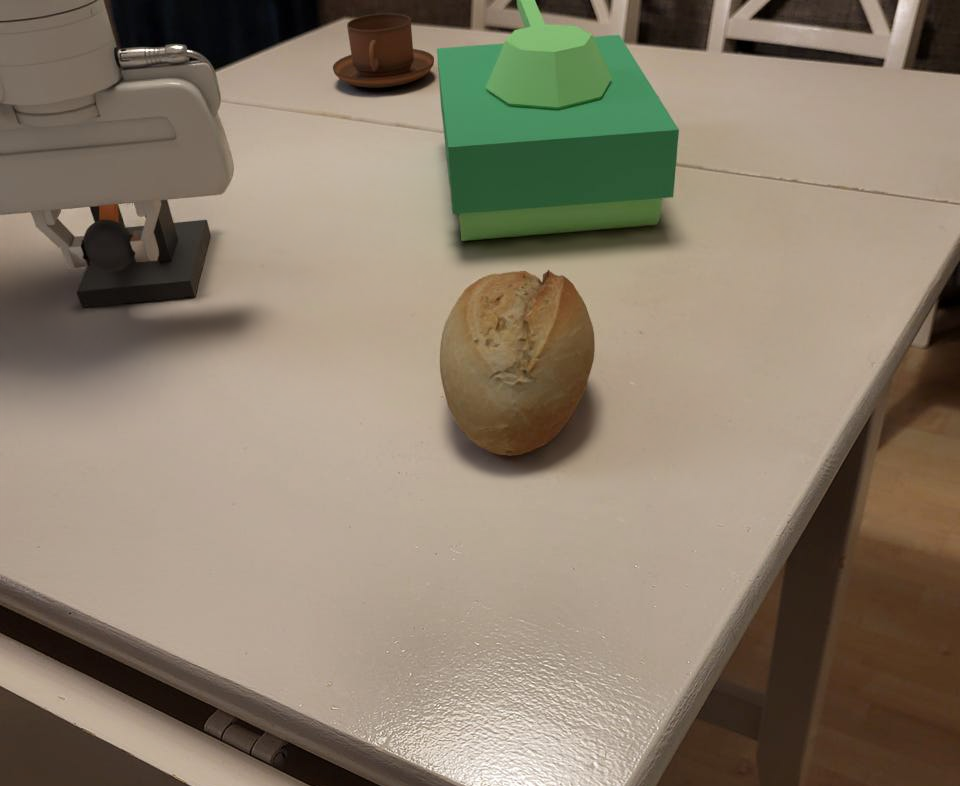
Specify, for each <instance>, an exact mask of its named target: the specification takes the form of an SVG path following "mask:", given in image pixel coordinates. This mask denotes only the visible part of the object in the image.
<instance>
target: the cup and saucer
mask: <svg viewBox="0 0 960 786" xmlns="http://www.w3.org/2000/svg"><path fill="white" fill-rule="evenodd" d="M411 20H412V19H411V18H410V17H409V16H408V15H406V14H402V13H394V12H393V13H389V12H386V13H374V14H373V13H372V14H367V15H362V16H359V17H356V18H353V19H351V20H349V21H348V22H347V24H346V27H347V33H348V35H347V36H348V40H349V47H350V54H348V55H346V56H344V57H342V58H340V59H338V60H337V61H336V62H334V63H333V65H332V70H333V73H334V75H335V76H336V77H337V78H338V79H339V80H340V81H341V82H343V83H346V84H349V85H351V86H356V87H360V88H372V89H373V88H376V89H377V88H391V87H396V86H402V85H405V84H410V83H412V82H414V81H417V80H419V79H421V78H423V77H425V76H426V75H427V74H428V73H429V72H430V71H431V70H432V68H433V67H434V63H435V57H434V55H433V54H432V53H430V52H428V51H427V50H426V51H425V50H422V49H417V48H414V43H413V32H412V31H413V29H412V21H411Z"/></svg>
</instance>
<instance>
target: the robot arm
mask: <svg viewBox="0 0 960 786" xmlns="http://www.w3.org/2000/svg"><path fill="white" fill-rule="evenodd" d="M190 58H192V59H195V60H191V61H190ZM221 102H222V96H221V90H220V86H219V82H218V77H217V73H216V71H215V68H214V66H213V64H212V63H211V62H210V61H209V59H207V58H206V57H205V56H204V55H203V54H201V53H200V52H198V51H195V50H192V49H189V48H188V47H187V45H186V44H183V43H182V44H181V43H170V44H165V45H164V46H156V47H151V46H150V47H149V46H135V47H122V48H118V46H117V43H116V39H115V36H114V33H113V28H112V24H111V21H110V19H109V13H108V10H107V8H106V4H105V0H0V216H5V215H16V214H17V215H18V214H27V213H30V215H31V217H32V219H33V222H34V225H35V227H36V228H37V229H38V230H39V232H41V233H42V234H43V235H44V236H46V238H48V239H49V240H50V241H51V242H52V243H53V244H54V245H55V246H56V247H57V248H58V249H59V248H60V250H61V254H62V255H63V258H64V261H65V263H66V266H67V268H68V269H69V270H77V269H83V268H87V267H90V263H92V262H91V261H90V260H89V258H88V257H87V255H86V253H85V250H84V244H83V240H84V235H80V236H77V235H76V236H75V235H74V234H73V233H72V232H71V231H70V230H69V229H68V228H67V227H66V226H65V224H63V223H62V221H61V220H60V219H59V216H60V215H61V213H62V210H70V209H71V210H72V209H80V208H81V209H82V208H90V207H93V206H104V205H115V204H118V205H124V204H133V205H134V208H135V212H136V215H137V217H139V218H142V217H143V218H144V217H145V215H146V217H145V221H144V225H143V226H144V228H143V230H142V231H133V234H132V237H131V239H130V244H131V248H132V250H133V251H134V252H135V255H134V257H135V260H136V262H137V263H139V262H150V261H157V259H158V256H159V249H158V245H157V242H156V238H155V235H154V229H155V226H156V222H157V218H158V215H159V211H160V208H161V200H167V201H168V200H178V199H179V200H180V199H189V198H200V197H202V198H203V197H211V196H212V197H213V196H220V195H224V194H225V192H226V190H227V189H228V188H229V186H230V185H231V182H232V180H233V176H234V172H235V164H234V158H233V155H232V151H231V148H230V143H229V141H228V137H227V135H226V132H225V128H224V126H223V122H222V120H221V117H220V114H219V110H220V108H221V104H222V103H221Z"/></svg>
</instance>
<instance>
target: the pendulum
mask: <svg viewBox="0 0 960 786" xmlns="http://www.w3.org/2000/svg"><path fill="white" fill-rule="evenodd" d="M118 205H119V204H115V205H104V206H99V215H100V220H99V221H97V222H93V223H91V225H89V226H88V228H87V229H86V231H85V232H84V235H83V236H84V240H83V244H84V250H85V253H86V255H87V257H88V258H89V260H90V261H91V262H92V263H93V264H94V265H95V266H97V267H98V268H100V269H102V270H105V271H110V272H116V271H120V270H123V269H125V268H126V267H128V266H129V265H130V264H131V262H132V261H133V259H134V255H135V252H134V251H133V250H132V248H131V244H130V239H131V237H132V234H131V233H130V231H129V230H128V229H127V228H126V227H127V226H126V225H125V226H124V225H122V224H120V223H119V216H118Z"/></svg>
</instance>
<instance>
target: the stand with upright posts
mask: <svg viewBox="0 0 960 786" xmlns="http://www.w3.org/2000/svg"><path fill="white" fill-rule="evenodd" d="M119 205H120V204H118V216H119V223H120V224H122V225H124V226H125V227H126V228H127V229H128V230H129V231H130V233H131V234H133V231H142V230H143V228H144V225H137V226H126V225H125V221H124V219H123V215H122V212H121V209H120V206H119ZM89 209H90V212H91V215H92V219H93V221H94V222H93V223H95V222H97V221H99V220H100V215H99V206H93V207H89ZM144 217H145V218H146V215H145V216H144ZM154 235H155V238H156V242H157V245H158V249H159V256H158V259H157V261H150V262H139V263H137V262H136V260H135V257H134V259H133V261H132V262H131V264H130V265H129V266H128V267H126V268H125V269H123V270H120V271H116V272H110V271H105V270H102V269H100V268H98V267H97V266H95V265H94V264H93V263H90V267H85V270H84V273H83V275H82V277H81V278H80V282H79V284H78V286H77V288H76V290H75V293H76V297H77V299H78V301H79V304H80V307H81V308H92V307H102V306H110V305H111V306H112V305H122V304H131V303H141V302H151V301H160V300H161V301H162V300H173V299H182V298H193V297H196V292H197V289H198V285H199V282H200V277H201V273H202V269H203V266H204V262H205V258H206V254H207V251H208V246H209V243H210V239H211V231H210V227H209V221H208V220H207V219H199V220H188V221H178V222H174V218H173V214H172V212H171V208H170V205H169V201H168V200H161V208H160V211H159V215H158V218H157V222H156V226H155V229H154Z"/></svg>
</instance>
